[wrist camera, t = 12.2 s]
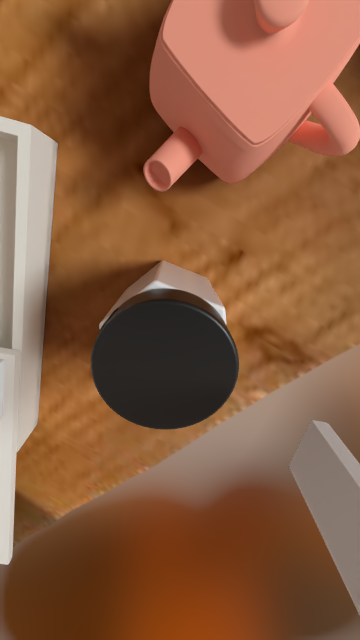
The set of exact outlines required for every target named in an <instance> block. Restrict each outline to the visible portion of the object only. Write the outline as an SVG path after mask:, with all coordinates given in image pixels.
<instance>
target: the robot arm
mask: <svg viewBox="0 0 360 640" xmlns="http://www.w3.org/2000/svg"><path fill="white" fill-rule="evenodd" d="M4 366H5V359H0V418H1V417H2V416H3V404H4ZM289 467H290V470H291V472H292V474H293V476H294V478H295V480H296V482H297V485H298V486H299V489H300V491H301V493H302V495H303V497H304V499H305V501H306V503H307V506H308V508H309V510H310V512H311V514H312V516H313V518H314V520H315V522H316V524H317V527H318V529H319V530H320V533H321V535H322V537H323V539H324V541H325V543H326V546H327V548H328V550H329V552H330V554H331V556H332V558H333V560H334V562H335V564H336V566H337V569H338V571H339V573H340V575H341V577H342V579H343V581H344V583H345V585H346V588H347V590H348V592H349V594H350V596H351V598H352V600H353V602H354V604H355V607H356V609H357V611H358V613H359V615H360V464H359V463H358V461H357V460H356V459H355V458H354V457H353V455H352V454H351V452H350V451H349V450H348V449H347V447H346V446H345V445H344V444H343V442H342V441H341V440H340V438H339V437H338V436H337V434H336V433H335V432H334V431H333V429H332V428H331V427H330V425H329V424H328V423H325V422H320V421H315V420H311V422H310V424H309V426H308V428H307V430H306V433H305V434H304V436H303V438H302V440H301V442H300V444H299V446H298V449H297V451H296V453H295V455H294V456H293V458H292V460H291V463H290V465H289Z"/></svg>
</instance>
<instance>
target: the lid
mask: <svg viewBox="0 0 360 640" xmlns="http://www.w3.org/2000/svg"><path fill="white" fill-rule="evenodd" d="M0 359H5V366H4V404H3V416H2V417H1V418H0V564H9V562H10V560H11V558H12V550H13V525H14V500H15V475H16V450H17V425H18V400H19V375H20V351H18V350H13V349H8V348H3V347H0Z"/></svg>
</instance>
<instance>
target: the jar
mask: <svg viewBox="0 0 360 640" xmlns="http://www.w3.org/2000/svg"><path fill="white" fill-rule="evenodd" d="M99 329H100V331H99V334H98V336H97V338H96V341H95V343H94V346H93V350H92V355H91V371H92V377H93V381H94V383H95V386H96V388H97V390H98V392H99V394H100V395H101V397H102V398H103V400H104V401H105V402H106V404H107V405H108V406H109V407H110V408H111V409H112V410H113V411H115V412H116V413H117V414H119V415H120V416H121V417H123V418H125V419H126V420H128V421H130V422H133V423H135V424H137V425H141V426H144V427H148V428H154V429H178V428H183V427H187V426H191V425H194V424H196V423H199V422H201V421H203V420H205V419H206V418H208V417H210V416H211V415H212V414H214V413H215V412H216V411H217V410H218V409H220V408H221V407H222V406H223V404H224V403H225V402H226V401H227V399H228V398H229V397H230V395H231V393H232V391H233V389H234V387H235V384H236V381H237V377H238V371H239V358H238V352H237V348H236V345H235V342H234V340H233V338H232V336H231V334H230V332H229V330H228V328H227V325H226V313H225V308H224V306H223V304H222V303H221V301H220V299H219V297H218V296H217V294H216V292H215V290H214V289H213V287H212V285H211V283H210V282H209V280H208V279H207V278H206V277H203V276H201V275H198V274H196V273H193V272H191V271H188V270H186V269H184V268H181V267H179V266H176V265H174V264H171V263H169V262H166V261H164V260H163V261H161V262H159V263H158V264H157V265H156V266H154V267H153V268H152V269H151V270H149V271H148V272H147V273H146V274H144V275H143V276H142V277H141V278H140V279H138V280H137V281H136V282H135V283H133V284H132V285H131V286H130V287H128V288H127V289H126V290H125V291H124V293H123V294H122V295H121V297H120V298H119V299H118V301H117V302H116V303H115V304H114V306H113V307H112V308H111V310H110V311H109V312H108V313H107V315H106V316H105V317H104V319H103V320H102V321H101V323H100V324H99Z"/></svg>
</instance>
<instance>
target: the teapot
mask: <svg viewBox="0 0 360 640" xmlns="http://www.w3.org/2000/svg"><path fill="white" fill-rule="evenodd" d="M359 44H360V0H172V1H171V3H170V5H169V7H168V9H167V12H166V14H165V16H164V19H163V22H162V25H161V28H160V31H159V34H158V37H157V41H156V45H155V49H154V53H153V57H152V62H151V68H150V85H149V87H150V97H151V101H152V104H153V106H154V108H155V109H156V111H157V113H158V114H159V115H160V116H161V118H162V119H163V120H164V121H165V123H166V124H167V125H168V126H169V128H170V129H171V130H172V131H173V132H174V133H173V134H172V135H171V136H170V137H169V138H168V139H167V140H166V141H165V142H164V144H163V145H162V146H161V147H160V148H159V149H158V150H157V151H156V152H155V153H154V154H153V155H152V156H151V157H150V158H149V159H148V160H147V161H146V163H145V164H144V169H143V171H144V176H145V179H146V181H147V182H148V184H149V185H150V186H151V187H152V188H153V189H155V190H157V191H160V192H164V191H166V190H168V189H169V188H170V187H171V186H172V185H173V184H174V183H175V182H176V181H177V180H178V178H179V177H180V176H181V175H182V174H183V173H184V172H185V171H186V170H187V169H188V168H189V167H190V166H191V165H192V164H193V163H194V162H195V161H196V160H197V159H199V160H200V161H201V162H202V163H203V164H204V165H205V166H207V167H208V168H209V169H210V170H211V171H212V172H213V173H214V174H215V175H217V176H218V177H219V178H220V179H221V180H223V181H225V182H226V183H231V184H233V183H237V182H239V181H241V180H243V179H244V178H246V177H247V176H248V175H250V174H251V173H252V172H254V171H255V170H256V169H257V168H258V167H260V166H261V165H262V164H263V163H264V162H265V161H267V160H268V159H269V158H270V157H271V156H272V155H273V154H274V153H276V152H277V151H278V150H279V149H280V148H281V147H282V146H283V145H284V144H285V143H286V142H287V141H290V142H292V143H294V144H297V145H299V146H302V147H304V148H306V149H309V150H311V151H314V152H316V153H319V154H323V155H329V156H341V155H345V154H347V153H349V152H350V151H351V150H353V149H354V148H355V146H356V145H357V143H358V141H359V139H360V126H359V123H358V120H357V118H356V116H355V114H354V113H353V111H352V109H351V108H350V106H349V105H348V103H347V102H346V100H345V99H344V98H343V96H342V95H341V93H340V92H339V91H338V90H337V88H336V87H335V86H334V84H333V83H334V81H335V80H336V79H337V77H338V76H339V74H340V73H341V71H342V70H343V68H344V67H345V66H346V64H347V63H348V61H349V60H350V58H351V56H352V55H353V53H354V52H355V50H356V49H357V47H358V45H359ZM311 113H312V114H313V115H314V116H315V118H316V119H317V120H318V122H319V123H320V124H317V123H313V122H310V121H307V120H306V119H307V118H308V117H309V115H310V114H311Z"/></svg>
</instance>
